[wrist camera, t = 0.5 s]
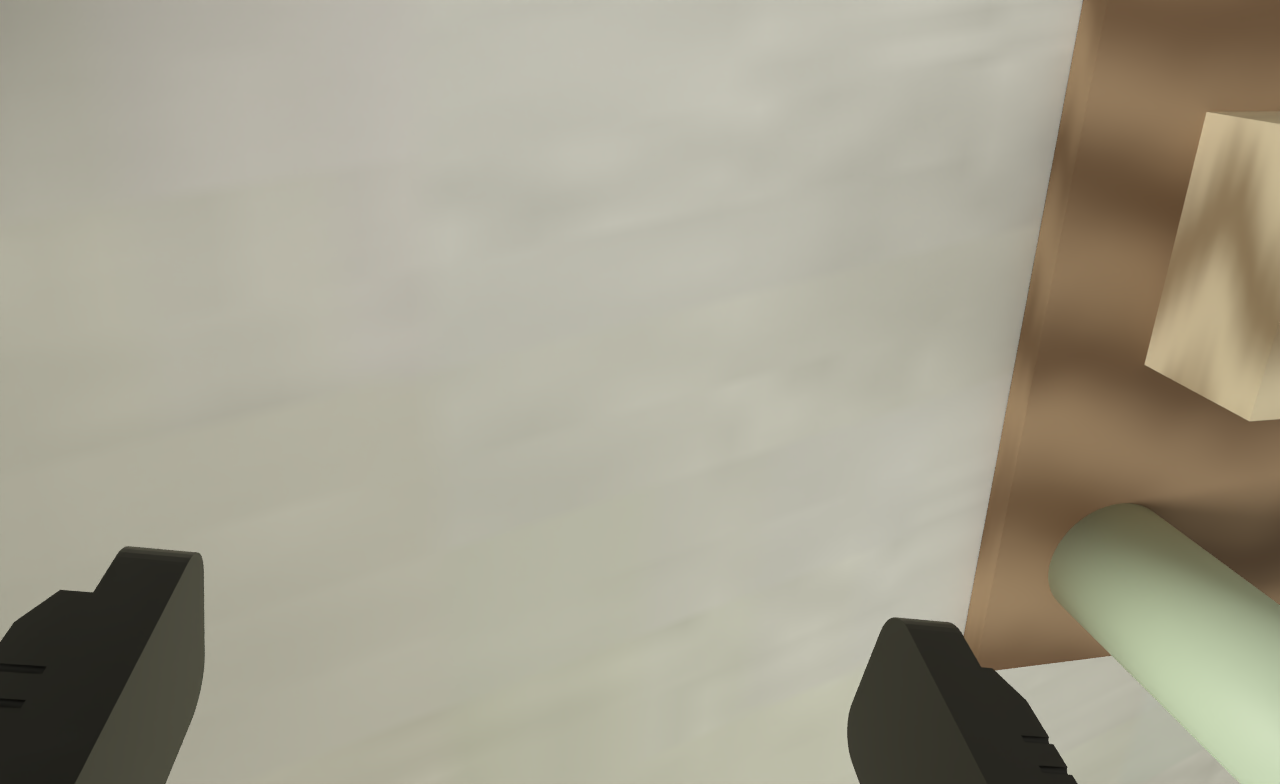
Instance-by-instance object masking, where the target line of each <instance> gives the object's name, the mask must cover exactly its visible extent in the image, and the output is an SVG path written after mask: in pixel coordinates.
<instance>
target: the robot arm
mask: <svg viewBox="0 0 1280 784" xmlns="http://www.w3.org/2000/svg"><path fill="white" fill-rule="evenodd" d="M204 660H205V645H204V568H203V560H202V556H201V555H200V553H197V552H186V551H174V550H163V549H152V548H141V547H130V546H127V547H124V548H123V549H122V550H121V551H120V552H119V553H118V554H117V556H116V557H115V559H114V560H113V562H112V563H111V565H110V567H109V568H108V570H107V571H106V573H105V575H104V576H103V578H102V579H101V581H100V583H99V584H98V586H97V587H96V589H95V591H94V592H93V593H92V592H80V591H67V590H59V591H58V592H57V593H55V594H54V595H52V596H51V597H49V598H48V599H47V600H45V601H44V602H42V603H41V604H39V605H38V606H37V607H35V608H34V609H32V610H31V611H30V612H28V613H27V614H25V615H24V616H22V617H21V618H20V619H18V620H17V621H15V622H14V623H13V625H12V626H11V628H10V629H9V630H8V632H7V633H6V635H5V636H4V637H3V639H2V640H1V642H0V784H165V783H166V781H167V779H168V776H169V774H170V771H171V769H172V766H173V764H174V762H175V759H176V757H177V754H178V752H179V749H180V747H181V745H182V742H183V740H184V737H185V735H186V732H187V730H188V727H189V725H190V723H191V720H192V718H193V715H194V712H195V709H196V706H197V702H198V698H199V694H200V690H201V685H202V679H203V672H204ZM847 738H848V747H849V753H850V757H851V760H852V763H853V766H854V769H855V772H856V774H857V777H858V780H859V782H860V784H1077V782H1076V781H1075V779H1074V777H1073V776H1072V775H1068V774H1067V766H1066V764H1065V763H1064V761H1063V759H1062V758H1061V756H1060V754H1059V753H1058V751H1057V750H1056V748H1055V746H1054V745H1053V744H1049V742H1048V738H1049V737H1048V735H1047V733H1046V732H1045V730H1044V728H1043V727H1042V725H1041V723H1040V722H1039V720H1038V719H1037V717H1036V715H1035V714H1034V712H1033V710H1032V709H1031V707H1030V706H1029V704H1028V702H1027V701H1026V700H1025V699H1024V698H1023V697H1022V696H1021V695H1020V694H1019V693H1018V692H1017V691H1016V690H1015V689H1014V688H1013V687H1011V686H1010V685H1009V684H1008V683H1007V682H1006V681H1005V680H1004V679H1003V678H1002V677H1001V676H1000V675H999V674H998V673H997V672H996V671H995V670H994V669H992V668H985V667H981V666H980V664H979V662H978V660H977V659H976V657H975V655H974V654H973V652H972V650H971V648H970V647H969V645H968V643H967V642H966V640H965V638H964V636H963V635H962V633H961V632H960V630H959V629H958V628H957V627H956V626H955V625H954V624H952V623H949V622H940V621H929V620H918V619H907V618H896V617H895V618H891V619H889V620H888V621H887V622H886V623H885V624H884V626H883V627H882V630H881V632H880V634H879V637H878V639H877V642H876V644H875V647H874V649H873V652H872V654H871V657H870V659H869V662H868V664H867V667H866V669H865V672H864V675H863V677H862V680H861V682H860V685H859V687H858V690H857V692H856V695H855V697H854V700H853V702H852V705H851V708H850V712H849V717H848V727H847Z"/></svg>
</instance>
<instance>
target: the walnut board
mask: <svg viewBox="0 0 1280 784" xmlns="http://www.w3.org/2000/svg"><path fill="white" fill-rule="evenodd" d="M1270 111H1280V0H1083V4H1082V10H1081V15H1080V20H1079V26H1078V31H1077V36H1076V42H1075V47H1074V52H1073V58H1072V63H1071V68H1070V74H1069V79H1068V84H1067V90H1066V95H1065V100H1064V105H1063V111H1062V116H1061V121H1060V127H1059V132H1058V137H1057V143H1056V148H1055V153H1054V159H1053V164H1052V169H1051V175H1050V180H1049V185H1048V191H1047V196H1046V201H1045V207H1044V212H1043V217H1042V223H1041V228H1040V233H1039V238H1038V244H1037V249H1036V254H1035V260H1034V265H1033V270H1032V276H1031V281H1030V286H1029V292H1028V297H1027V302H1026V308H1025V313H1024V318H1023V324H1022V329H1021V334H1020V340H1019V345H1018V350H1017V355H1016V361H1015V366H1014V371H1013V377H1012V382H1011V387H1010V393H1009V398H1008V403H1007V409H1006V414H1005V419H1004V425H1003V430H1002V435H1001V441H1000V446H999V451H998V457H997V462H996V467H995V473H994V478H993V483H992V488H991V494H990V499H989V504H988V510H987V515H986V520H985V526H984V531H983V536H982V542H981V547H980V552H979V558H978V563H977V568H976V574H975V579H974V584H973V590H972V595H971V600H970V605H969V611H968V616H967V621H966V627H965V632H964V638H965V640H966V642H967V643H968V645H969V647H970V648H971V650H972V652H973V654H974V655H975V657H976V659H977V660H978V662H979V664H980V666H981V667H985V668H992V669H994V670H1002V669H1010V668H1018V667H1026V666H1033V665H1041V664H1049V663H1057V662H1065V661H1073V660H1081V659H1089V658H1097V657H1105V656H1112V655H1111V654H1110V653H1109V652H1108V651H1107V650H1106V649H1105V648H1104V647H1103V646H1102V645H1101V644H1100V643H1098V642H1097V641H1096V640H1095V639H1094V638H1093V637H1092V636H1091V635H1090V634H1089V633H1088V632H1087V631H1086V630H1085V629H1084V628H1083V627H1082V626H1081V625H1080V624H1079V623H1078V622H1077V621H1076V620H1075V619H1074V618H1073V617H1072V616H1071V615H1070V614H1069V613H1068V612H1067V611H1066V610H1065V609H1064V608H1063V607H1062V606H1061V605H1060V604H1059V603H1058V602H1057V600H1056V599H1055V598H1054V596H1053V595H1052V593H1051V590H1050V587H1049V581H1048V572H1049V565H1050V562H1051V559H1052V556H1053V554H1054V551H1055V550H1056V548H1057V546H1058V544H1059V543H1060V541H1061V540H1062V538H1063V537H1064V536H1065V535H1066V534H1067V532H1068V531H1069V530H1070V529H1071V528H1072V527H1073V526H1074V525H1075V524H1077V523H1078V522H1079V521H1080V520H1082V519H1083V518H1084V517H1086V516H1088V515H1089V514H1091V513H1093V512H1095V511H1097V510H1099V509H1101V508H1104V507H1107V506H1110V505H1114V504H1121V503H1131V504H1138V505H1142V506H1144V507H1146V508H1148V509H1150V510H1151V511H1153V512H1154V513H1156V514H1157V515H1158V516H1160V517H1161V518H1162V519H1164V520H1165V521H1166V522H1168V523H1169V524H1170V525H1172V526H1173V527H1175V528H1176V529H1177V530H1179V531H1180V532H1181V533H1183V534H1184V535H1185V536H1187V537H1188V538H1189V539H1191V540H1192V541H1194V542H1195V543H1196V544H1198V545H1199V546H1200V547H1202V548H1203V549H1204V550H1206V551H1207V552H1208V553H1210V554H1211V555H1213V556H1214V557H1215V558H1217V559H1218V560H1219V561H1221V562H1222V563H1223V564H1225V565H1226V566H1227V567H1229V568H1230V569H1232V570H1233V571H1234V572H1236V573H1237V574H1238V575H1240V576H1241V577H1242V578H1244V579H1245V580H1246V581H1248V582H1249V583H1251V584H1252V585H1253V586H1255V587H1256V588H1257V589H1259V590H1260V591H1261V592H1263V593H1264V594H1265V595H1267V596H1268V597H1270V598H1271V599H1272V600H1274V601H1275V602H1276V603H1278V604H1279V605H1280V419H1275V420H1262V421H1248V420H1246V419H1244V418H1242V417H1240V416H1239V415H1237V414H1235V413H1233V412H1231V411H1229V410H1227V409H1226V408H1224V407H1222V406H1220V405H1218V404H1216V403H1214V402H1213V401H1211V400H1209V399H1207V398H1205V397H1203V396H1201V395H1200V394H1198V393H1196V392H1194V391H1192V390H1190V389H1188V388H1187V387H1185V386H1183V385H1181V384H1179V383H1177V382H1175V381H1174V380H1172V379H1170V378H1168V377H1166V376H1164V375H1162V374H1161V373H1159V372H1157V371H1155V370H1153V369H1151V368H1149V367H1148V366H1146V365H1144V364H1145V360H1146V356H1147V352H1148V348H1149V344H1150V340H1151V336H1152V332H1153V328H1154V324H1155V320H1156V316H1157V312H1158V307H1159V303H1160V299H1161V295H1162V291H1163V287H1164V283H1165V279H1166V275H1167V271H1168V267H1169V263H1170V259H1171V255H1172V251H1173V246H1174V242H1175V238H1176V234H1177V230H1178V226H1179V222H1180V218H1181V214H1182V210H1183V206H1184V202H1185V198H1186V194H1187V189H1188V185H1189V181H1190V177H1191V173H1192V169H1193V165H1194V161H1195V157H1196V153H1197V149H1198V145H1199V141H1200V137H1201V133H1202V128H1203V124H1204V120H1205V116H1206V112H1270Z"/></svg>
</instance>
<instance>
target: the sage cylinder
mask: <svg viewBox="0 0 1280 784" xmlns="http://www.w3.org/2000/svg"><path fill="white" fill-rule="evenodd" d="M1048 581H1049V587H1050V590H1051V593H1052V595H1053V596H1054V598H1055V599H1056V600H1057V602H1058V603H1059V604H1060V605H1061V606H1062V607H1063V608H1064V609H1065V610H1066V611H1067V612H1068V613H1069V614H1070V615H1071V616H1072V617H1073V618H1074V619H1075V620H1076V621H1077V622H1078V623H1079V624H1080V625H1081V626H1082V627H1083V628H1084V629H1085V630H1086V631H1087V632H1088V633H1089V634H1090V635H1091V636H1092V637H1093V638H1094V639H1095V640H1096V641H1097V642H1098V643H1100V644H1101V645H1102V646H1103V647H1104V648H1105V649H1106V650H1107V651H1108V652H1109V653H1110V654H1111V655H1112V656H1113V657H1114V658H1115V659H1116V660H1117V661H1118V662H1119V663H1120V664H1121V665H1122V666H1123V667H1124V668H1125V669H1126V670H1127V671H1128V672H1129V673H1130V674H1131V675H1132V676H1133V677H1134V678H1135V679H1136V680H1137V681H1138V682H1139V683H1140V684H1141V685H1142V686H1143V687H1144V688H1145V689H1146V690H1147V691H1148V692H1149V693H1150V694H1151V695H1152V696H1153V697H1154V698H1155V699H1156V700H1157V701H1158V702H1159V703H1160V704H1161V705H1162V706H1163V707H1164V708H1165V709H1166V710H1167V711H1168V712H1169V713H1170V714H1171V715H1172V716H1173V717H1174V718H1175V719H1176V720H1177V721H1178V722H1179V723H1180V724H1181V725H1182V726H1183V727H1184V728H1185V729H1186V730H1187V731H1188V732H1189V733H1190V734H1191V735H1192V736H1193V737H1194V738H1195V739H1196V740H1197V741H1198V742H1199V743H1200V744H1201V745H1202V746H1203V747H1204V748H1205V749H1206V750H1207V751H1208V752H1209V753H1210V754H1211V755H1212V756H1213V757H1214V758H1215V759H1216V760H1217V761H1218V762H1219V763H1220V764H1221V765H1222V766H1223V767H1224V768H1225V769H1226V770H1227V771H1228V772H1229V773H1230V774H1231V775H1232V776H1233V777H1234V778H1235V779H1236V780H1237V781H1238V782H1239V783H1240V784H1280V605H1279V604H1278V603H1276V602H1275V601H1274V600H1272V599H1271V598H1270V597H1268V596H1267V595H1265V594H1264V593H1263V592H1261V591H1260V590H1259V589H1257V588H1256V587H1255V586H1253V585H1252V584H1251V583H1249V582H1248V581H1246V580H1245V579H1244V578H1242V577H1241V576H1240V575H1238V574H1237V573H1236V572H1234V571H1233V570H1232V569H1230V568H1229V567H1227V566H1226V565H1225V564H1223V563H1222V562H1221V561H1219V560H1218V559H1217V558H1215V557H1214V556H1213V555H1211V554H1210V553H1208V552H1207V551H1206V550H1204V549H1203V548H1202V547H1200V546H1199V545H1198V544H1196V543H1195V542H1194V541H1192V540H1191V539H1189V538H1188V537H1187V536H1185V535H1184V534H1183V533H1181V532H1180V531H1179V530H1177V529H1176V528H1175V527H1173V526H1172V525H1170V524H1169V523H1168V522H1166V521H1165V520H1164V519H1162V518H1161V517H1160V516H1158V515H1157V514H1156V513H1154V512H1153V511H1151V510H1150V509H1148V508H1146V507H1144V506H1142V505H1138V504H1131V503H1121V504H1114V505H1110V506H1107V507H1104V508H1101V509H1099V510H1097V511H1095V512H1093V513H1091V514H1089V515H1088V516H1086V517H1084V518H1083V519H1082V520H1080V521H1079V522H1078V523H1077V524H1075V525H1074V526H1073V527H1072V528H1071V529H1070V530H1069V531H1068V532H1067V534H1066V535H1065V536H1064V537H1063V538H1062V540H1061V541H1060V543H1059V544H1058V546H1057V548H1056V550H1055V551H1054V554H1053V556H1052V559H1051V562H1050V565H1049V572H1048Z"/></svg>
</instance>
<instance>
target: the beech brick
mask: <svg viewBox="0 0 1280 784" xmlns="http://www.w3.org/2000/svg"><path fill="white" fill-rule="evenodd" d="M1144 365H1146V366H1148V367H1149V368H1151V369H1153V370H1155V371H1157V372H1159V373H1161V374H1162V375H1164V376H1166V377H1168V378H1170V379H1172V380H1174V381H1175V382H1177V383H1179V384H1181V385H1183V386H1185V387H1187V388H1188V389H1190V390H1192V391H1194V392H1196V393H1198V394H1200V395H1201V396H1203V397H1205V398H1207V399H1209V400H1211V401H1213V402H1214V403H1216V404H1218V405H1220V406H1222V407H1224V408H1226V409H1227V410H1229V411H1231V412H1233V413H1235V414H1237V415H1239V416H1240V417H1242V418H1244V419H1246V420H1248V421H1262V420H1275V419H1280V111H1270V112H1206V116H1205V120H1204V124H1203V128H1202V133H1201V137H1200V141H1199V145H1198V149H1197V153H1196V157H1195V161H1194V165H1193V169H1192V173H1191V177H1190V181H1189V185H1188V189H1187V194H1186V198H1185V202H1184V206H1183V210H1182V214H1181V218H1180V222H1179V226H1178V230H1177V234H1176V238H1175V242H1174V246H1173V251H1172V255H1171V259H1170V263H1169V267H1168V271H1167V275H1166V279H1165V283H1164V287H1163V291H1162V295H1161V299H1160V303H1159V307H1158V312H1157V316H1156V320H1155V324H1154V328H1153V332H1152V336H1151V340H1150V344H1149V348H1148V352H1147V356H1146V360H1145V364H1144Z"/></svg>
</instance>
